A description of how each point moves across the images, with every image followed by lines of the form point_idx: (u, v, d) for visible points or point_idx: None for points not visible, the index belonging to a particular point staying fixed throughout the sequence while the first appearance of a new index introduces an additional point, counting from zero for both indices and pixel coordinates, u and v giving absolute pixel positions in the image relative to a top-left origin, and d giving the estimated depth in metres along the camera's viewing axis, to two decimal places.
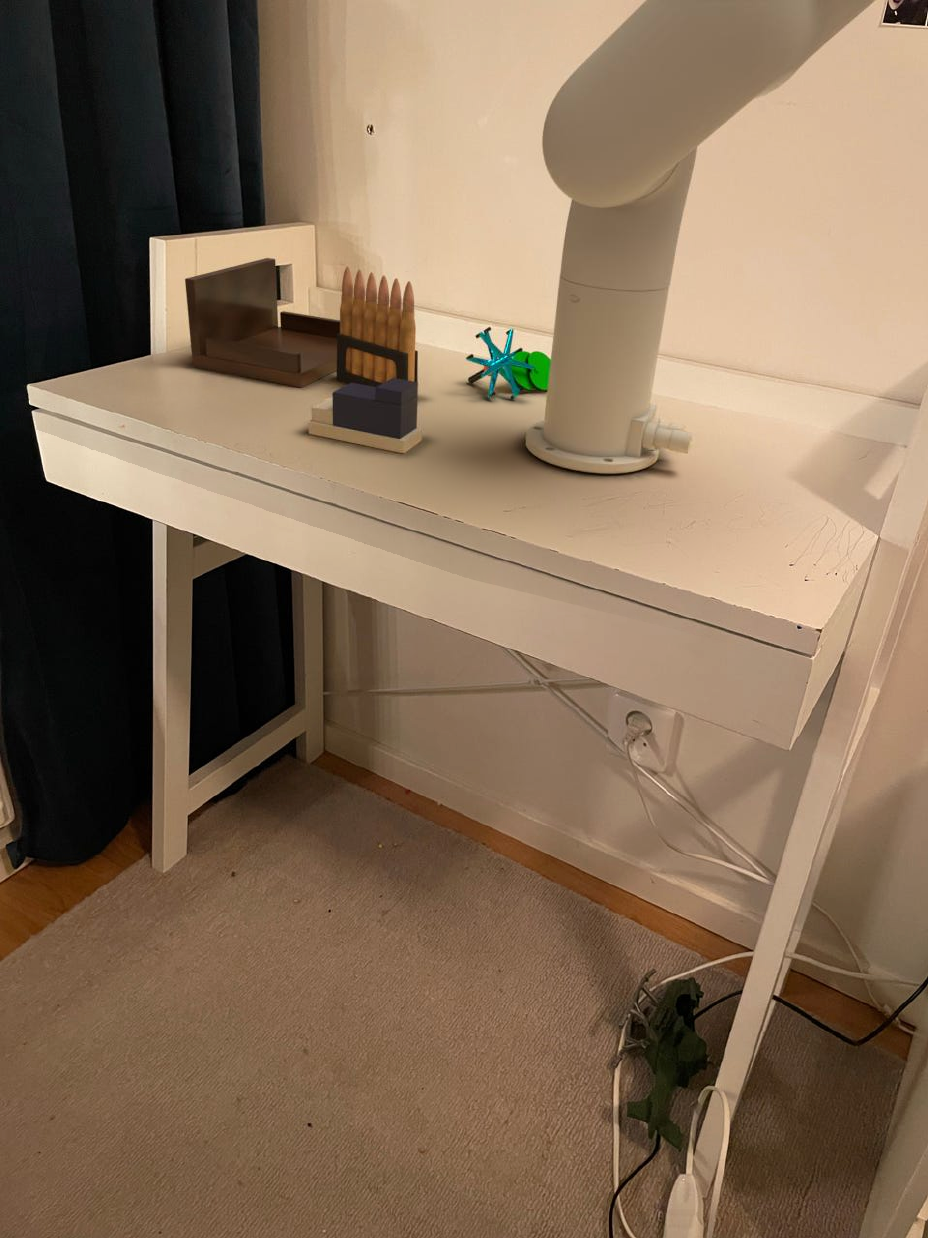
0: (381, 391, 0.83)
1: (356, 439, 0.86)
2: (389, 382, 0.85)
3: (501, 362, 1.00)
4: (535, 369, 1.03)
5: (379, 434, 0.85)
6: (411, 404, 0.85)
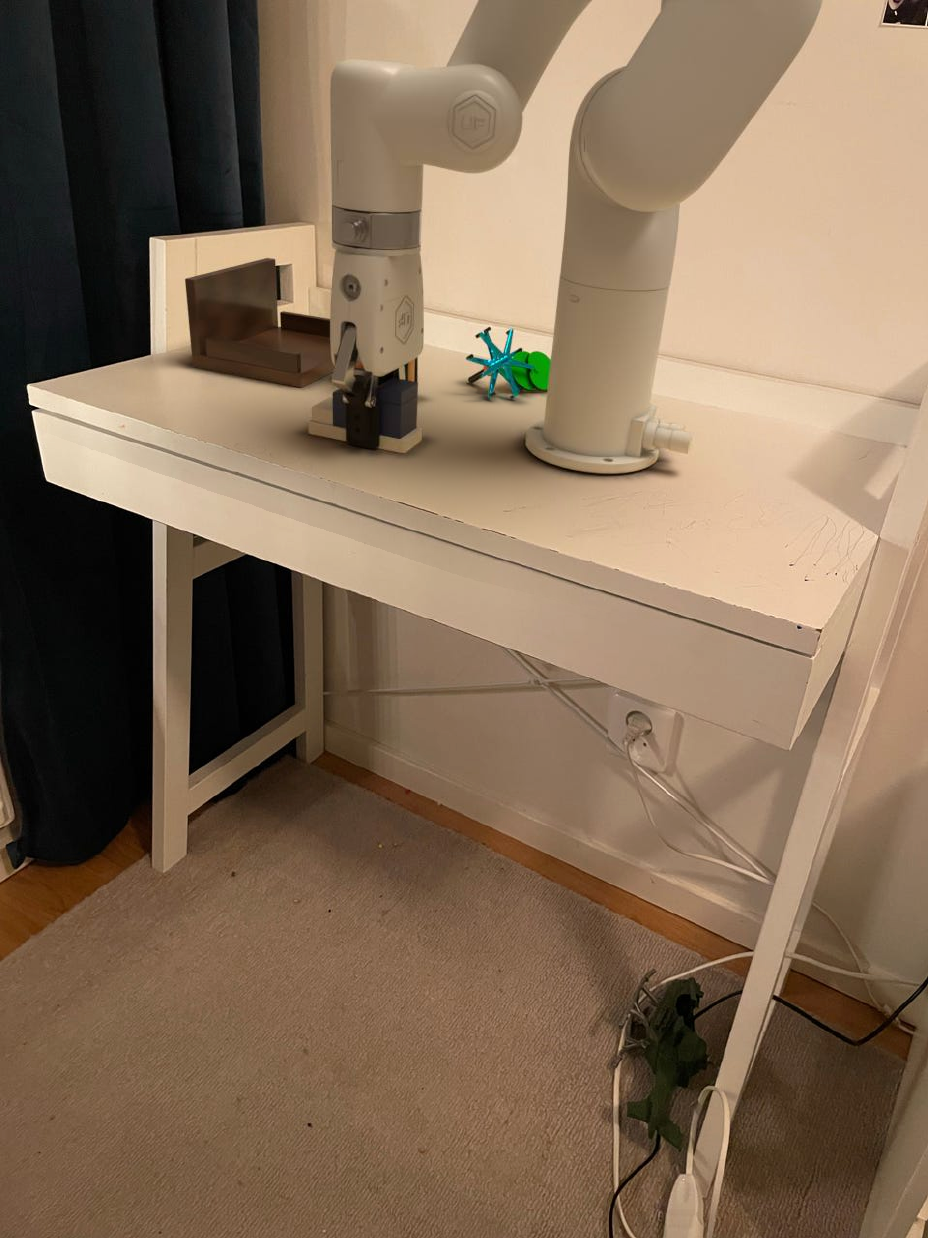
0: (381, 391, 0.83)
1: None
2: (389, 382, 0.85)
3: (501, 362, 1.00)
4: (535, 369, 1.03)
5: None
6: (411, 404, 0.85)
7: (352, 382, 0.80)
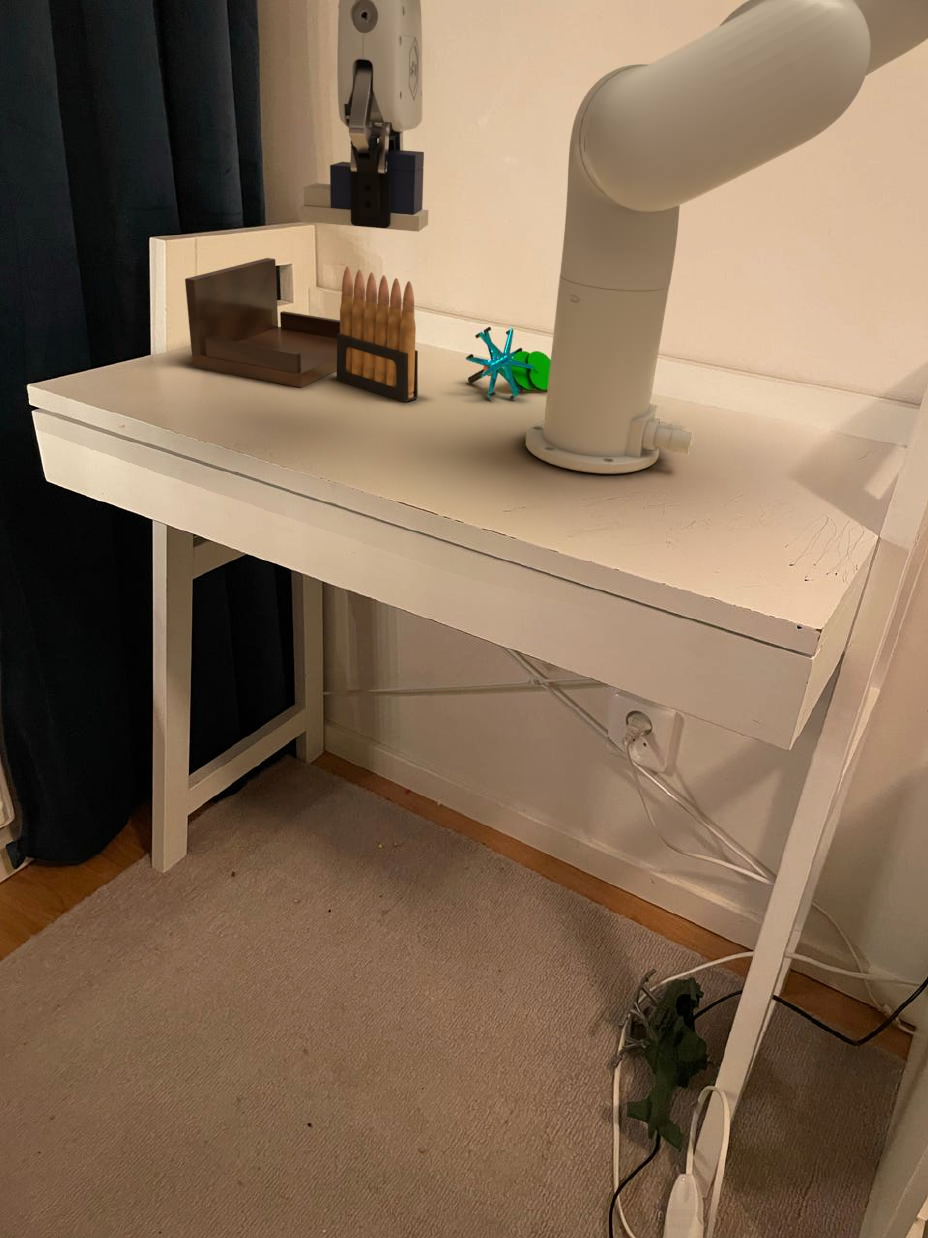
0: (391, 156, 0.74)
1: None
2: (394, 151, 0.75)
3: (501, 362, 1.00)
4: (535, 369, 1.03)
5: None
6: (420, 176, 0.76)
7: (368, 135, 0.70)
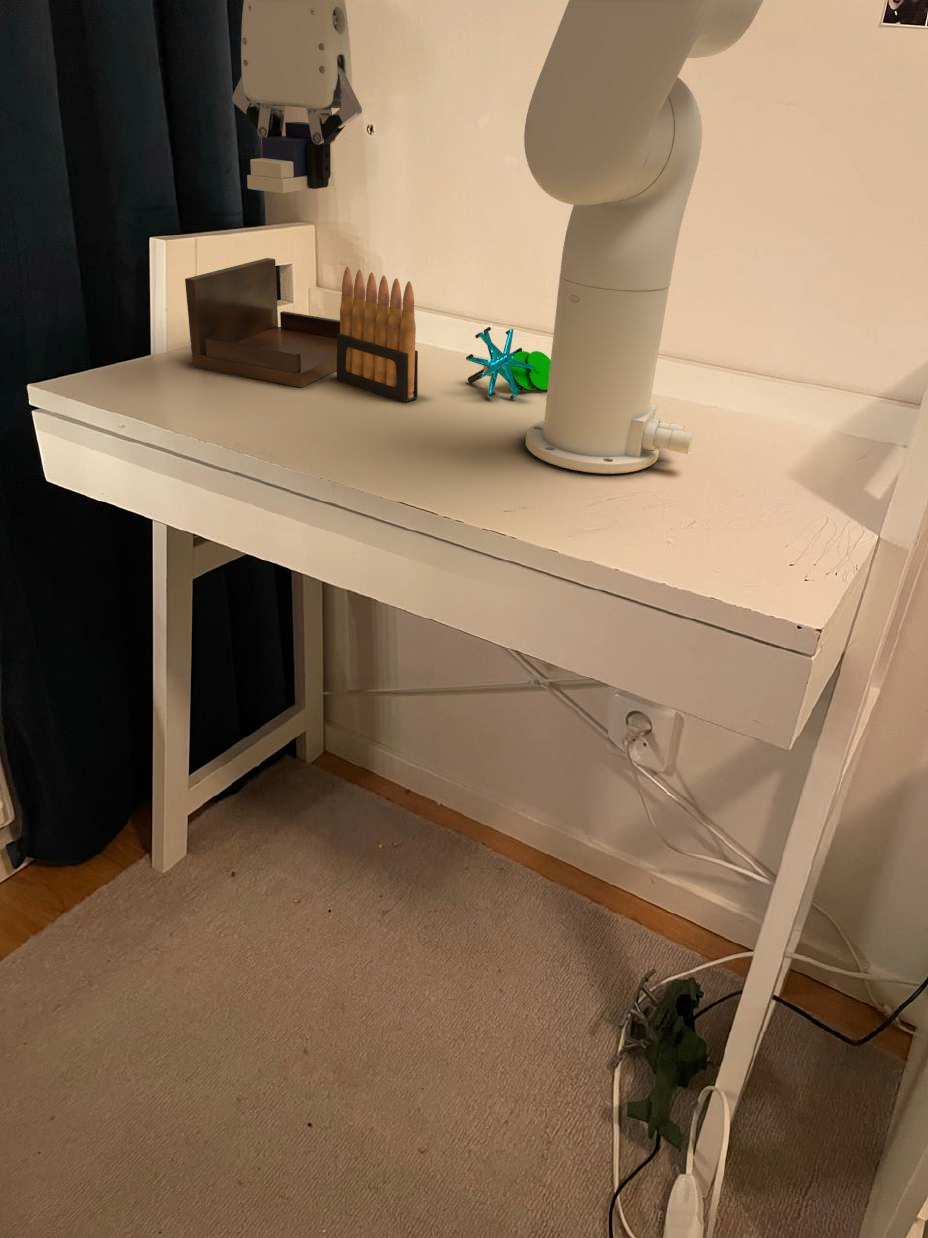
0: None
1: None
2: (301, 123, 0.93)
3: (501, 362, 1.00)
4: (535, 369, 1.03)
5: None
6: None
7: None
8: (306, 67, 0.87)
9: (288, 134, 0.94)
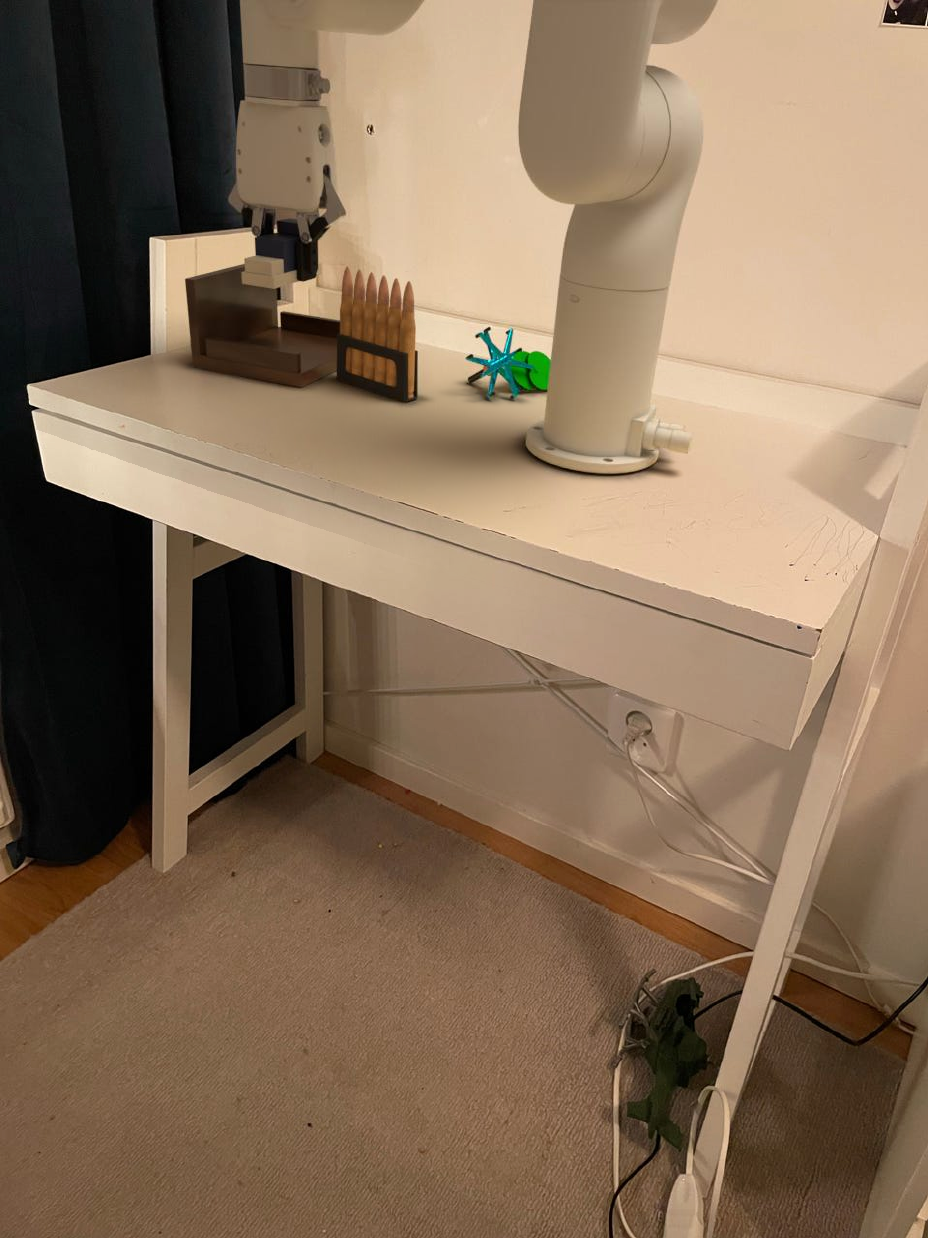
0: None
1: None
2: (291, 221, 1.02)
3: (501, 362, 1.00)
4: (535, 369, 1.03)
5: None
6: None
7: None
8: (294, 177, 0.96)
9: (279, 231, 1.02)
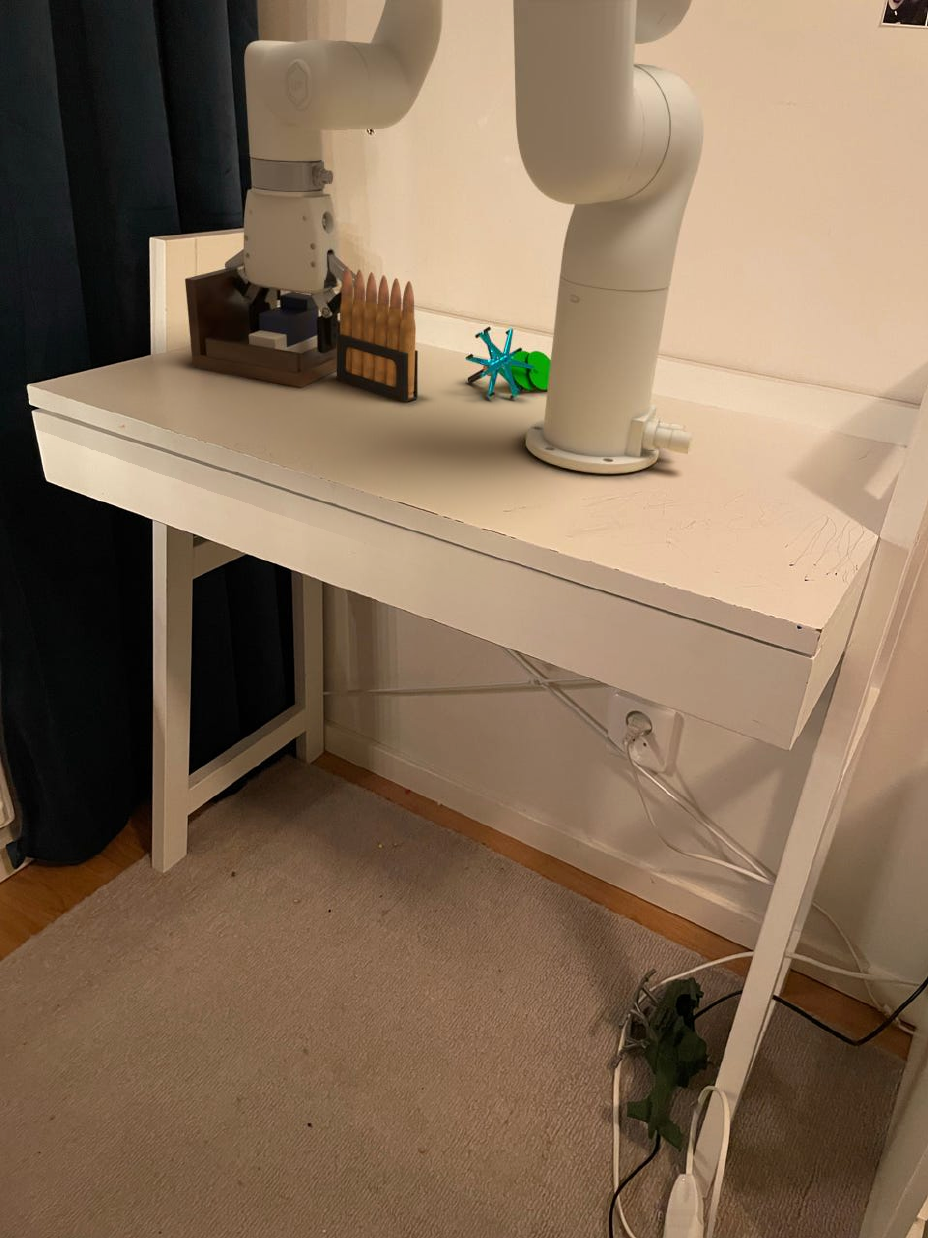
0: (309, 301, 1.06)
1: (301, 349, 1.06)
2: (294, 296, 1.06)
3: (501, 362, 1.00)
4: (535, 369, 1.03)
5: (310, 337, 1.07)
6: None
7: None
8: (300, 262, 1.00)
9: (282, 305, 1.06)
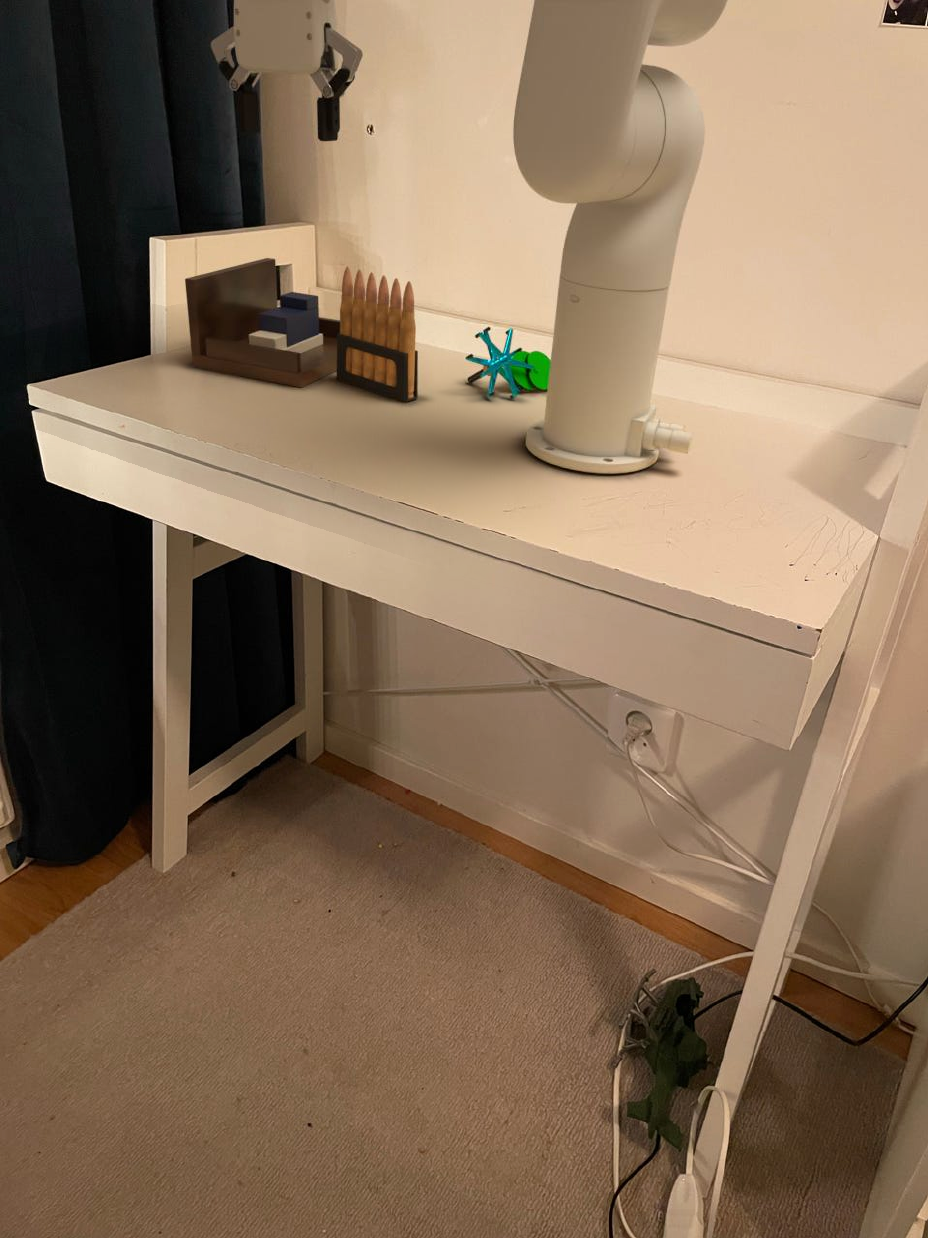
0: (309, 301, 1.06)
1: (301, 349, 1.06)
2: (294, 296, 1.06)
3: (501, 362, 1.00)
4: (534, 369, 1.03)
5: (310, 337, 1.07)
6: None
7: None
8: (295, 35, 0.92)
9: (282, 305, 1.06)
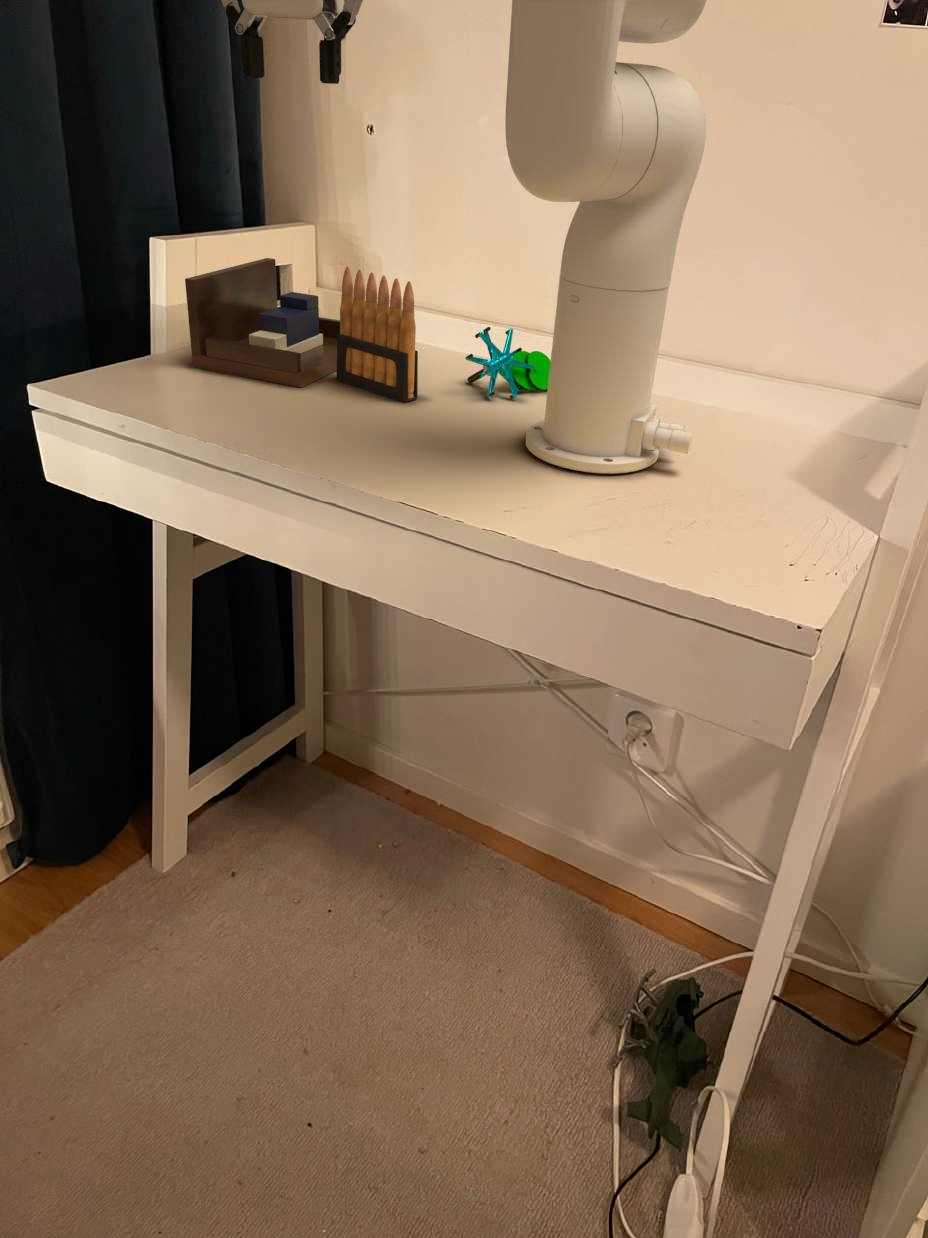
0: (309, 301, 1.06)
1: (301, 349, 1.06)
2: (294, 296, 1.06)
3: (500, 362, 1.00)
4: (534, 369, 1.03)
5: (310, 337, 1.07)
6: None
7: None
8: None
9: (282, 305, 1.06)
